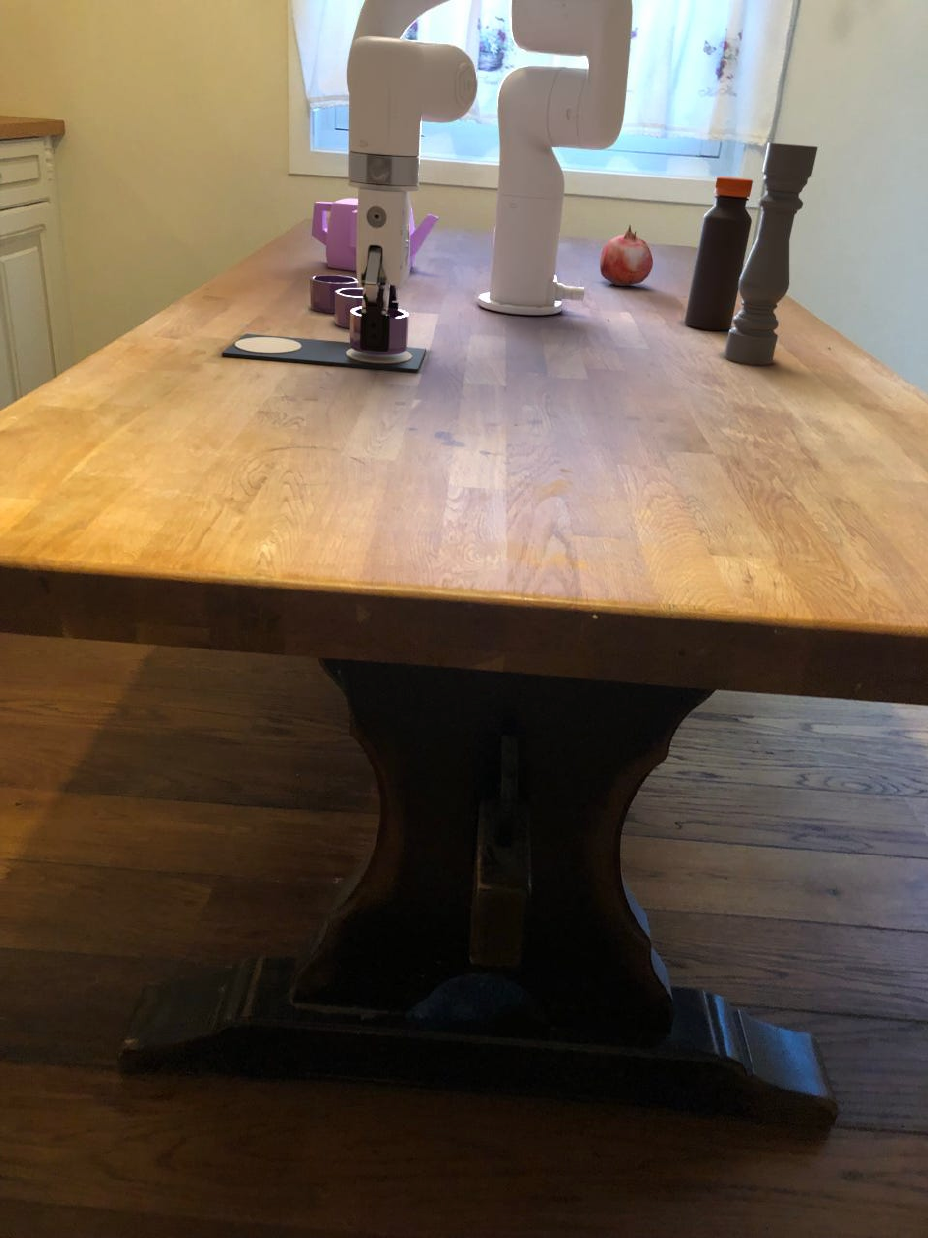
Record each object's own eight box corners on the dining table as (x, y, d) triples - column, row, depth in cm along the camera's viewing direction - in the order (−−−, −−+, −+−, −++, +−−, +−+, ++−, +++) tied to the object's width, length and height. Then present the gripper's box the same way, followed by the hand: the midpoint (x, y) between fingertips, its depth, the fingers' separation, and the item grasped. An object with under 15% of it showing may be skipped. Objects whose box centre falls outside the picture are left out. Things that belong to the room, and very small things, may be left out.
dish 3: (409, 344, 113) (411, 309, 111) (403, 357, 107) (404, 320, 105) (355, 339, 113) (355, 304, 111) (345, 352, 107) (346, 315, 105)
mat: (426, 352, 115) (426, 347, 114) (417, 372, 106) (417, 368, 106) (245, 336, 115) (245, 332, 115) (222, 356, 106) (221, 351, 106)
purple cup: (361, 306, 136) (361, 276, 134) (353, 315, 130) (353, 284, 128) (316, 302, 136) (316, 273, 134) (306, 311, 131) (306, 280, 129)
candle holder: (774, 367, 120) (823, 147, 108) (724, 361, 121) (767, 143, 109) (770, 356, 126) (816, 145, 114) (722, 351, 127) (763, 141, 115)
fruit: (610, 277, 175) (618, 219, 170) (657, 286, 170) (666, 226, 165) (586, 282, 168) (593, 221, 163) (634, 291, 164) (643, 229, 159)
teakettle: (305, 260, 168) (304, 184, 162) (386, 257, 178) (388, 185, 172) (354, 277, 157) (356, 195, 151) (438, 273, 166) (443, 196, 160)
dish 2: (387, 320, 129) (388, 290, 127) (381, 331, 123) (381, 299, 121) (340, 317, 129) (340, 286, 127) (331, 327, 123) (331, 295, 121)
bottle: (675, 323, 141) (701, 175, 131) (699, 319, 145) (725, 175, 136) (716, 332, 137) (745, 180, 127) (738, 327, 141) (769, 180, 132)
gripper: (409, 181, 93) (402, 364, 102) (426, 170, 108) (419, 330, 117) (333, 175, 93) (333, 358, 102) (361, 165, 109) (358, 325, 117)
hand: (379, 341), depth 109 cm, fingers closed on dish 3, 6 cm apart
